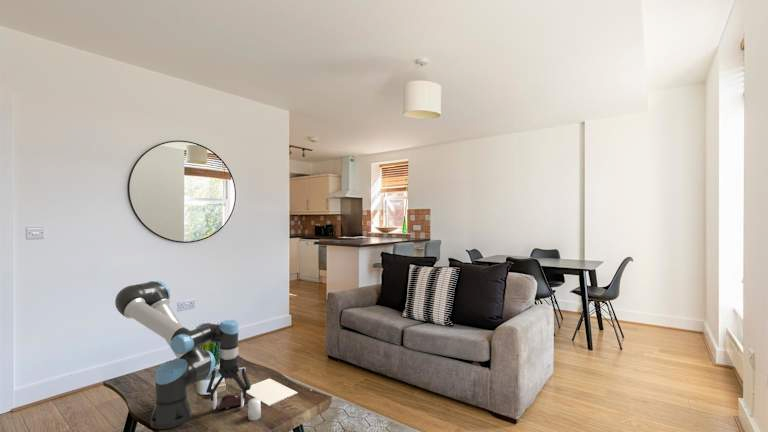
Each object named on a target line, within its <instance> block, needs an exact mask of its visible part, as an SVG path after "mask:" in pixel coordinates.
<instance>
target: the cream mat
mask: <svg viewBox="0 0 768 432" xmlns="http://www.w3.org/2000/svg"><path fill="white" fill-rule="evenodd" d="M250 385H251V388H250V390H247V394H246V395H247V396H249V397H252V399H253V398H260V399H261V404H264V405H266V406H267V407H270V406H272V405H275V404H277V403H279V402H281V401H283V400H285V398H286V399H288V398H290V397H292V396H294V395H296V394H298V391H296V390H294V389H292V388H290V387H288V386H285V385H284V384H282V383H281V382H278V381H276V380H274V379H271V378H267V379H265V380H262V381H259V382H256V383H253V384H250ZM241 391H242V389H241V388H240V392H241ZM287 397H288V398H287Z"/></svg>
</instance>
